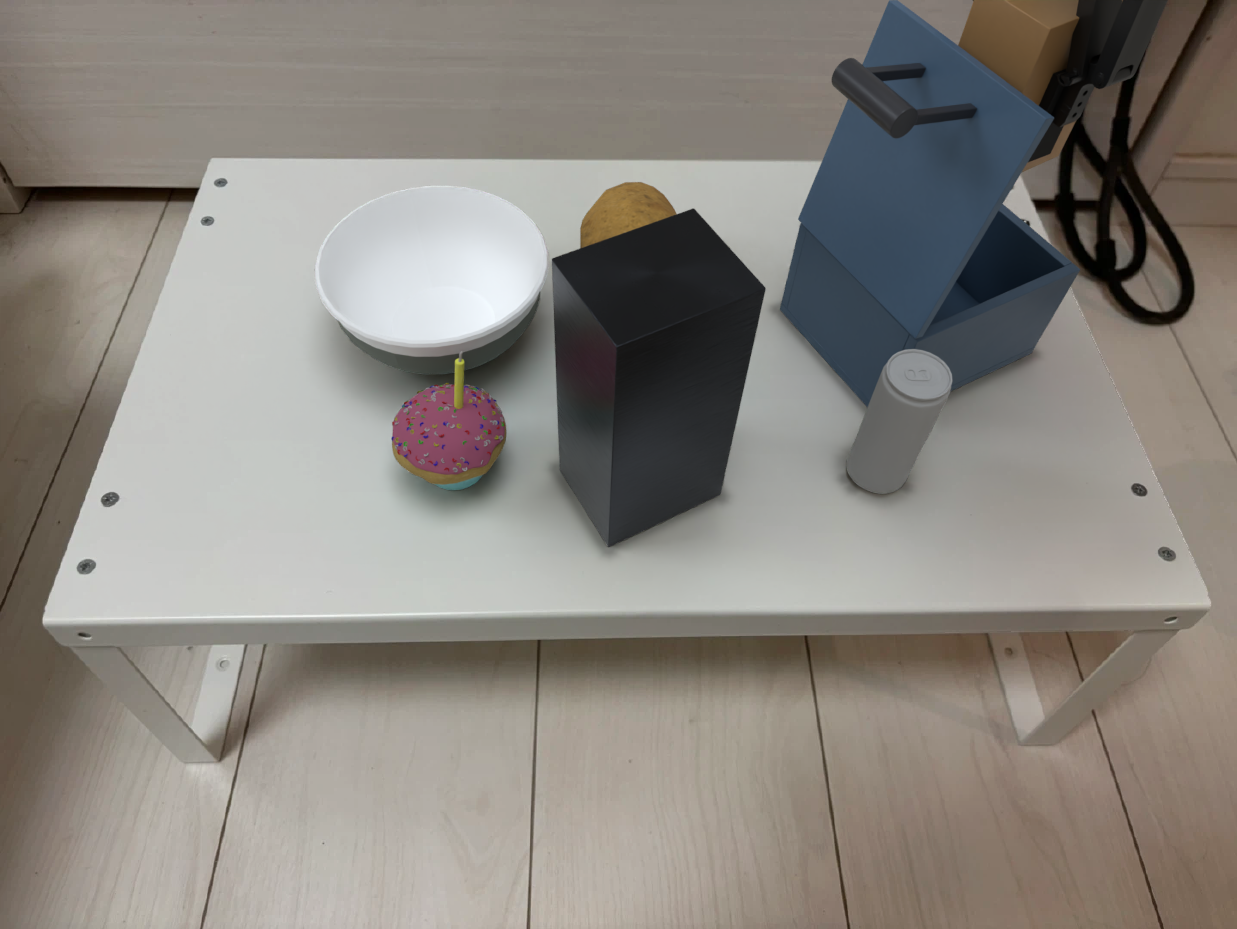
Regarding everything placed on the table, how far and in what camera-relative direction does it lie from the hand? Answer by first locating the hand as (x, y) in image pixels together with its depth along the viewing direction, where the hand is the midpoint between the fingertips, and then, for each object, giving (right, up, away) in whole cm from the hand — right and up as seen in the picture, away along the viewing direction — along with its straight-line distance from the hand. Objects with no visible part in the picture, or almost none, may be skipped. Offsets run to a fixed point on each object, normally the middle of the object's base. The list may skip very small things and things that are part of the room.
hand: (999, 129), depth 67 cm
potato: (-26, -8, +18) cm, 33 cm away
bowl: (-43, -12, +15) cm, 47 cm away
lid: (-7, -4, -1) cm, 8 cm away
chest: (-2, -12, +16) cm, 20 cm away
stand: (-26, -26, +6) cm, 37 cm away
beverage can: (-7, -25, +7) cm, 27 cm away
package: (0, -1, +2) cm, 2 cm away
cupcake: (-40, -24, +6) cm, 47 cm away
